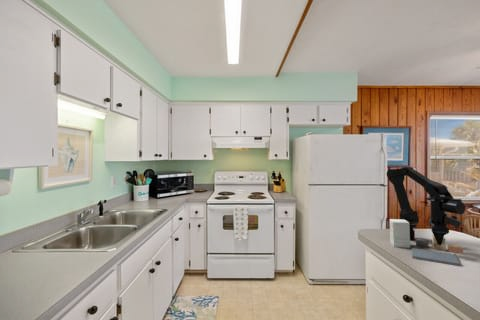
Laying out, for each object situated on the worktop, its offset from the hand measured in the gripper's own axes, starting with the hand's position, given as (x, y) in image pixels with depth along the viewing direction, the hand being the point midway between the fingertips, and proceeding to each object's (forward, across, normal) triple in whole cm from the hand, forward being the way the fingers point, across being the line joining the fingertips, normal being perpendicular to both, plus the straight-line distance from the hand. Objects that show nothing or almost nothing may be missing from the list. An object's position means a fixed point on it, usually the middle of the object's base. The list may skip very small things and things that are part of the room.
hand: (438, 242), depth 121 cm
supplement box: (+3, -3, +16) cm, 17 cm away
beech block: (+3, 0, 0) cm, 3 cm away
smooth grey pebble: (+3, +1, +6) cm, 7 cm away
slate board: (+3, -14, +3) cm, 15 cm away
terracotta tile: (+3, -1, -6) cm, 7 cm away
